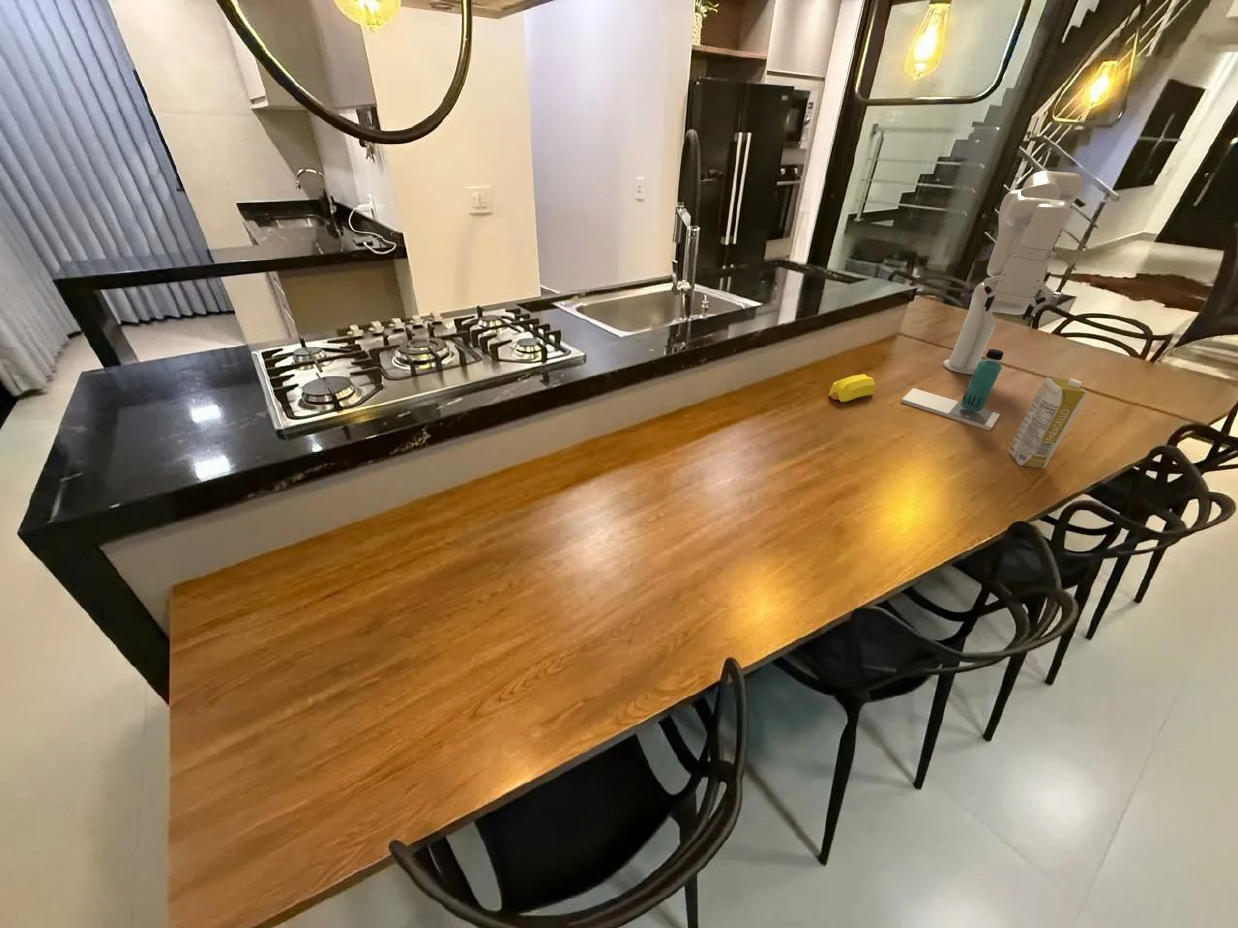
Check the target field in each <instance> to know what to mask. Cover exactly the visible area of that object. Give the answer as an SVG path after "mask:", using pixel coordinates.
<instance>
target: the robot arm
mask: <svg viewBox="0 0 1238 928" xmlns="http://www.w3.org/2000/svg"><path fill="white" fill-rule="evenodd" d="M1023 183H1024V184H1023V185H1022V186H1023V187H1022V188H1021V189H1015V190H1012V191H1009V192H1008V193H1006V194H1005V196H1004V197H1003V199H1002V201H1001V204H1000V209H999V212H998V233H997V234H998V235H997V237H996V241H995V244H994V246H993V249H992V252H991V255H990V258H989V260H988V261H989V262H988V264H987V267H986V274H987V275H988V276H989V277H987V278H985V279H983V281H982V282H980V283H979V284H977V286H976V287H974V291H973V293H972V296H971V300H970V305H969V308H968V312H967V315H966V318H965V320H964V322H963V325H962V327H961V330H960V333H959V336H958V338H957V340H956V342H955V345H954V348H953V350H952V353H951V354H950V358H948V359H945V360H944V361H943V362H942V365H943V367H944V368H945V369H947V370H950V371H952V372H954V373H958V374H963V375H968V376H969V375H971V376H972V374H973V373H974V371H975V369H976V367H977V365H978V362H979V361H982V358H983V355H984V353H985V350H986V349H987V346H988V344H989V342H990V339H991V336H992V334H993V333H994V330H995V327H996V320H995V317H994V315H993V313H994V312H995V313H1002V314H1009V315H1015V316H1019V315H1023V316H1022V318H1021V319H1022V320H1026V318H1027V317H1028V318H1029V317H1030V316H1031V315H1032V313H1033V311H1034V308H1035V307H1036V306H1037V305H1040V304H1042V303H1044V302H1046V301H1048V299H1050V297H1052V296H1053V295H1054V293H1055V292H1054V291H1053V290H1052V289H1051V288H1049V287H1048V286H1047V285H1046V284H1045V283H1044V280H1045V277H1046V275H1047V272H1048V269H1049V265H1050V263H1051V262H1050V260H1048V259H1050V258H1052V259H1055V258H1056V255H1057V254H1058V253H1057V252H1055V251H1053V247H1054V246H1055V243H1056V241H1057V239H1058V237H1059V235H1060V232H1061V230H1062V228H1063V226H1065V225H1066V224H1067V221H1068V220H1069V218H1070V216H1071V212H1072V208H1071V206H1072V205H1073V204H1074V203H1075V201H1077V199H1078V198H1079V195H1080V193H1081V192H1082V188H1083V177H1082V176H1081V174H1078V173H1076V172H1063V171H1051V170H1042V171H1038V172H1036V173H1033V174H1031V175H1030V176H1029V177H1028V178H1026V180H1025V182H1023ZM1040 290H1041V291H1042V292H1043V293H1044V294H1045V295H1043V296H1042V297H1037V296H1036V295H1037V294H1038V293H1039V291H1040Z"/></svg>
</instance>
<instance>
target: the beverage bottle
mask: <svg viewBox="0 0 1238 928" xmlns="http://www.w3.org/2000/svg"><path fill="white" fill-rule="evenodd" d="M1003 356H1004V352H1003V351H1002V350H1000V349H995V348H990V349H988V351H987V353H986V354H985V359H981V360H980V361H979V362H978V365H977V367H976V369H975V371H974V373H973V374H972V375H971V378H970V379H969V380H970V381H969V383H968V384H967V385H966V386H967V387H966V389H965V391H964V393H963V395H962V399H961V400H960V402H961V406H962V407H963V408H965V409H967V410H971V411H981V410H982V409H983V408H984V409H985V405H986V402H987V401H988V399H989V396H990V395H991V391H992V389H993V387H994V385H995V383H996V381H997V378H998V377H999V375H1000V373H1001V370H1002V368H1003V367H1002V365H1001V363H1000V362H999V361H1001V360H1003Z"/></svg>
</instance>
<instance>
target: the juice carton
mask: <svg viewBox="0 0 1238 928" xmlns="http://www.w3.org/2000/svg"><path fill="white" fill-rule="evenodd" d="M1081 385H1082V381H1080V380H1078V379H1074V378H1070V379H1068V378H1061V377H1060V378H1059V377H1050V376H1049V377H1046V378H1044V381H1043V382H1042V384H1041V386H1040V387H1039V389H1038V391H1037V393H1036V395H1035V396H1034V398H1033V400H1032V403H1030V404H1031V405H1030V406H1029V408H1028V410H1027V412H1026V413H1025V416H1024V418H1023V420H1022V421H1021V424H1020V426H1019V428H1018V430H1017V432H1015V433H1016V434H1015V436H1014V438H1013V439H1012V441H1011V443H1010V446H1009V448H1008V452H1009V454H1010V456H1012V457H1013V459H1014V460H1015V462H1016V463H1017V465H1019V466H1021V467H1025V468H1026V467H1028V468H1034V469H1045V468H1046V467H1047V466H1048V463H1049V462H1050V461H1051V460H1052V458H1053V456H1054V454H1055V453H1056V450H1058V447H1059V446H1060V443H1061V442H1062V440H1063V439H1064V437H1065V435H1066V433H1067V432H1068V430H1069V428H1070V427H1071V425H1072V422H1073V421H1074V419H1075V417H1076V416H1077V414H1078V413H1079V410H1080V408H1081V407H1082V405H1083V403H1084V402H1085V400H1086V398H1087V395H1088V394H1089V393H1088V391H1087V390H1085V389H1083V388H1081V387H1080V386H1081Z"/></svg>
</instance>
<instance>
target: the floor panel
mask: <svg viewBox="0 0 1238 928" xmlns="http://www.w3.org/2000/svg"><path fill="white" fill-rule="evenodd" d="M900 403H902V404H905V405H908V406H911V407H914V408H917V409H920V410H923V411H927V412H930V413H934V414H936V415H938V416H943V417H946V418H948V419H953V420H955V421H958V422H962V423H964V424H968V425H971V426H974V427H977V428H981V429H984V430H986V431H991V430H992V429H993V427H994V426H995V424H996V423H997V421H998V419H999V418H1000V415H1001V414H1000V413H998V412H994V410H990V409H986V408H985V407H984V408H983V409H982V410H981V411H971V410H967V409H965V408H963V407H962V406H961V400H960V401H959V400H954V399H951V398H948V397H944V396H941V395H938V394H935V393H931V392H928V391H924V390H921V389H918V388H916V387H914V388H912V389H911V390H910V391H909V392H908V393H906V395H904V397H902V399H901V401H900Z"/></svg>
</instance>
